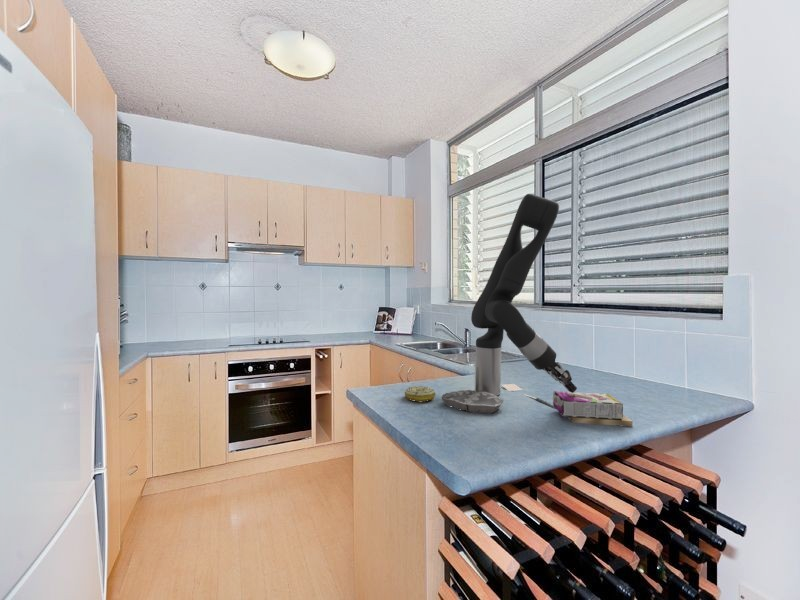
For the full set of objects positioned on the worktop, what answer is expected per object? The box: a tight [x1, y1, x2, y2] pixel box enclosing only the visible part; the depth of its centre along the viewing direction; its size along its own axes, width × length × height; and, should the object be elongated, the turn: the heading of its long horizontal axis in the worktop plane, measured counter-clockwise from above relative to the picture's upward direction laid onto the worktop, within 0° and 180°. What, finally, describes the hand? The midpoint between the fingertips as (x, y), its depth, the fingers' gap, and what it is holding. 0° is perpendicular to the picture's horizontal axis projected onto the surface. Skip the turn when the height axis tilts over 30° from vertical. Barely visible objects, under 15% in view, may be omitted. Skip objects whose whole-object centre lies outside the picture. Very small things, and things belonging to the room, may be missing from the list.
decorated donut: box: [404, 385, 436, 401], centre depth 129 cm, size 10×11×4 cm
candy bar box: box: [552, 390, 624, 420], centre depth 112 cm, size 11×5×16 cm
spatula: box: [501, 383, 558, 411], centre depth 133 cm, size 6×29×2 cm, turn 17°
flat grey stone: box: [441, 389, 504, 414], centre depth 122 cm, size 20×17×3 cm
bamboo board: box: [566, 414, 634, 427], centre depth 114 cm, size 16×16×2 cm
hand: (573, 390), depth 113 cm, fingers closed
